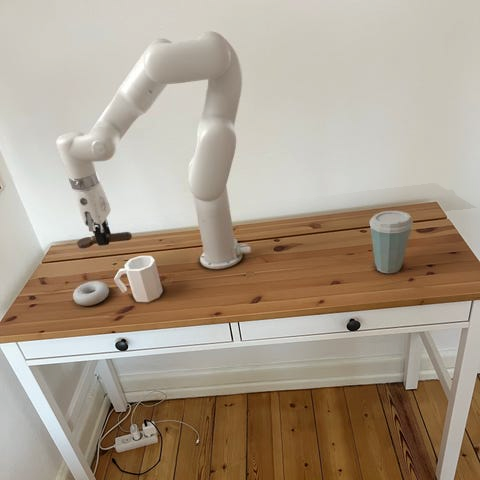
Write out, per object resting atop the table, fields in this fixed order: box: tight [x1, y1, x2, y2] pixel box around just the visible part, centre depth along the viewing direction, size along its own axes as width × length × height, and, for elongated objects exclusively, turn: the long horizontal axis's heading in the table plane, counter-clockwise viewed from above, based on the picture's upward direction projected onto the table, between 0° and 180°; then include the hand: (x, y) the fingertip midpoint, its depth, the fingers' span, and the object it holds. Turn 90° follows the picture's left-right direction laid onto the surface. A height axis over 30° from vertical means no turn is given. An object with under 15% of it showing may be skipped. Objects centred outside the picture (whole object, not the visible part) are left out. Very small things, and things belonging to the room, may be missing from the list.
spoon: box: [76, 231, 133, 249], centre depth 153 cm, size 16×5×2 cm, turn 85°
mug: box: [113, 255, 163, 303], centre depth 146 cm, size 12×9×10 cm
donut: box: [72, 280, 110, 307], centre depth 150 cm, size 10×4×10 cm
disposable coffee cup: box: [369, 210, 414, 274], centre depth 139 cm, size 11×11×15 cm
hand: (105, 241), depth 153 cm, fingers closed on spoon, 2 cm apart
